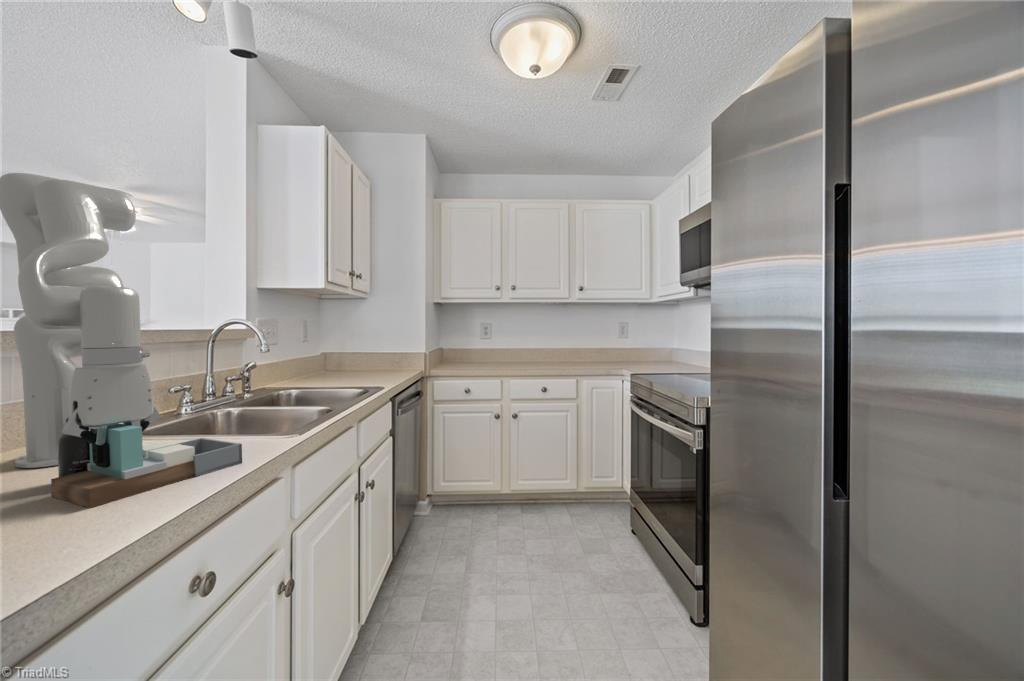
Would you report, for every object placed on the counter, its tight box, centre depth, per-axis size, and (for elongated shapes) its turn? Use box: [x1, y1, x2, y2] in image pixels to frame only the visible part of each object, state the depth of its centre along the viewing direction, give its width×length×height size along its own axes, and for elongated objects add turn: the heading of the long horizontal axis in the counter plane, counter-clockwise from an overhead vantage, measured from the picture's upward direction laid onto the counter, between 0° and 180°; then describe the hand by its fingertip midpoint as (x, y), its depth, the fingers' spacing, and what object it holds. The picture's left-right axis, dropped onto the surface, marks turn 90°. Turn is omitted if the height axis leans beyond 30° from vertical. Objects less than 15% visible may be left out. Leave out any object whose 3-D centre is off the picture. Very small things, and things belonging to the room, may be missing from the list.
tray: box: [175, 437, 243, 478], centre depth 86 cm, size 13×9×4 cm
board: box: [50, 461, 195, 509], centre depth 75 cm, size 12×15×3 cm
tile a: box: [142, 440, 177, 458], centre depth 81 cm, size 5×5×2 cm
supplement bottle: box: [57, 418, 90, 477], centre depth 78 cm, size 7×7×12 cm
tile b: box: [148, 443, 195, 467], centre depth 79 cm, size 5×5×2 cm
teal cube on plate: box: [87, 423, 167, 479], centre depth 75 cm, size 12×6×8 cm, turn 67°
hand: (116, 462), depth 74 cm, fingers closed on teal cube on plate, 3 cm apart
